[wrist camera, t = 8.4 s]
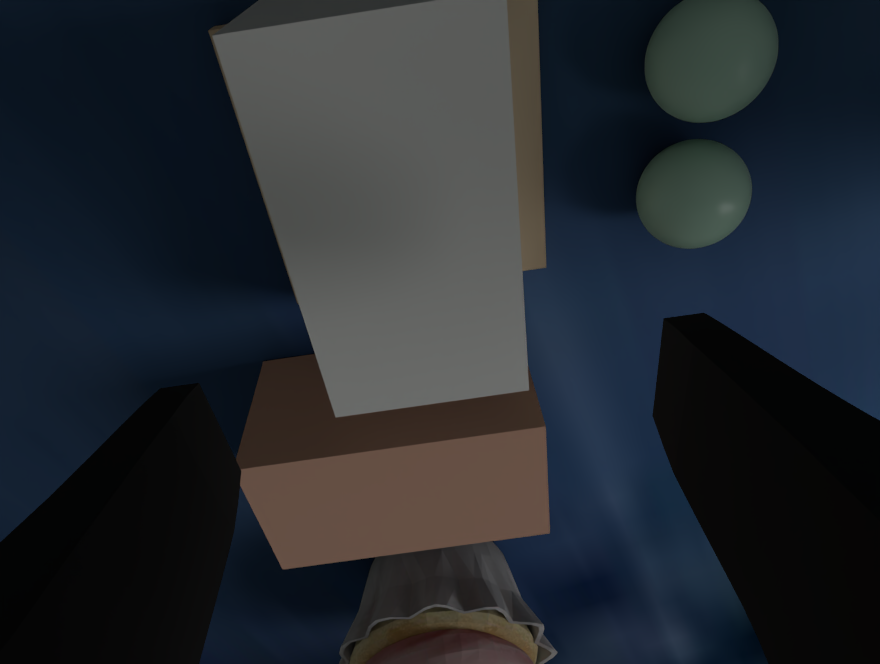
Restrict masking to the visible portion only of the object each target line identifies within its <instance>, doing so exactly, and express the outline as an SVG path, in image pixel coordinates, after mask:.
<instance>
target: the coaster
mask: <svg viewBox="0 0 880 664" xmlns="http://www.w3.org/2000/svg"><path fill="white" fill-rule="evenodd" d="M507 12H508V29H509V47H510V64H511V82H512V99H513V117H514V134H515V152H516V169H517V187H518V204H519V222H520V239H521V257H522V271H525V270H532V269H539V268H546V245H545V214H544V183H543V152H542V120H541V89H540V58H539V27H538V0H507ZM225 25H227V24H225ZM225 25H219V26H214V27H212V28H211V29H210V30H208V32H209V35H210V38H211V41H212V44H213V47H214V50H215V53H216V56H217V59H218V62H219V65H220V68H221V71H222V74H223V78H224V81H225V84H226V87H227V90H228V93H229V96H230V99H231V102H232V105H233V108H234V111H235V114H236V117H237V120H238V123H239V126H240V129H241V133H242V136H243V139H244V142H245V145H246V148H247V151H248V154H249V157H250V160H251V163H252V166H253V169H254V172H255V175H256V178H257V181H258V184H259V188H260V191H261V194H262V197H263V200H264V203H265V206H266V209H267V212H268V215H269V218H270V221H271V224H272V227H273V230H274V233H275V236H276V240H277V243H278V246H279V249H280V252H281V255H282V258H283V261H284V264H285V267H286V270H287V273H288V276H289V279H290V282H291V285H292V288H293V291H294V287H293V284H292V281H291V278H290V275H289V272H288V269H287V266H286V263H285V260H284V257H283V253H282V250H281V247H280V244H279V241H278V238H277V235H276V232H275V229H274V226H273V223H272V219H271V216H270V213H269V210H268V207H267V204H266V201H265V198H264V195H263V192H262V189H261V185H260V182H259V179H258V176H257V173H256V170H255V167H254V164H253V161H252V158H251V154H250V151H249V148H248V145H247V142H246V139H245V136H244V133H243V130H242V127H241V124H240V120H239V117H238V114H237V111H236V108H235V105H234V102H233V99H232V96H231V93H230V90H229V86H228V83H227V80H226V77H225V74H224V71H223V68H222V65H221V62H220V59H219V56H218V52H217V49H216V46H215V43H214V40H213V37H212V35H213V34H215V33H216V32H217V31H219V30H220V29H221V28H223V27H224V26H225ZM294 295H295V298H296V301H297V304H299V303H298V300H297V297H296V294H295V291H294Z"/></svg>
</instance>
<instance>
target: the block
mask: <svg viewBox="0 0 880 664" xmlns="http://www.w3.org/2000/svg"><path fill="white" fill-rule="evenodd" d="M212 37H213V40H214V43H215V46H216V49H217V52H218V56H219V59H220V62H221V65H222V68H223V71H224V74H225V77H226V80H227V83H228V86H229V90H230V93H231V96H232V99H233V102H234V105H235V108H236V111H237V114H238V117H239V120H240V124H241V127H242V130H243V133H244V136H245V139H246V142H247V145H248V148H249V151H250V154H251V158H252V161H253V164H254V167H255V170H256V173H257V176H258V179H259V182H260V185H261V189H262V192H263V195H264V198H265V201H266V204H267V207H268V210H269V213H270V216H271V219H272V223H273V226H274V229H275V232H276V235H277V238H278V241H279V244H280V247H281V250H282V253H283V257H284V260H285V263H286V266H287V269H288V272H289V275H290V278H291V281H292V284H293V287H294V291H295V294H296V297H297V300H298V303H299V306H300V309H301V312H302V315H303V318H304V321H305V325H306V328H307V331H308V334H309V337H310V340H311V343H312V346H313V349H314V352H315V355H316V359H317V362H318V365H319V368H320V371H321V374H322V377H323V380H324V383H325V386H326V390H327V393H328V396H329V399H330V402H331V405H332V408H333V411H334V414H335V417H343V416H350V415H357V414H365V413H372V412H379V411H386V410H393V409H400V408H407V407H414V406H421V405H428V404H436V403H443V402H450V401H457V400H464V399H471V398H478V397H485V396H492V395H499V394H507V393H514V392H521V391H528V390H529V379H528V362H527V344H526V327H525V309H524V292H523V274H522V257H521V239H520V222H519V204H518V187H517V169H516V152H515V134H514V117H513V99H512V82H511V64H510V47H509V29H508V12H507V0H258V1H257V2H256V3H254V4H253V5H252V6H250V7H249V8H248V9H246V10H245V11H244V12H243V13H241V14H240V15H239V16H237V17H236V18H235V19H233V20H232V21H231V22H229V23H228V24H227V25H225V26H224V27H223V28H221V29H220V30H219V31H217V32H216V33H215V34H213V35H212Z"/></svg>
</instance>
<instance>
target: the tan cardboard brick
mask: <svg viewBox="0 0 880 664" xmlns="http://www.w3.org/2000/svg"><path fill="white" fill-rule="evenodd" d="M528 379H529V390H528V391H521V392H514V393H507V394H499V395H492V396H485V397H478V398H471V399H464V400H457V401H450V402H443V403H436V404H428V405H421V406H414V407H407V408H400V409H393V410H386V411H379V412H372V413H365V414H357V415H350V416H343V417H335V414H334V411H333V408H332V405H331V402H330V399H329V396H328V393H327V390H326V386H325V383H324V380H323V377H322V374H321V371H320V368H319V365H318V362H317V359H316V355H315V354H311V355H304V356H297V357H290V358H283V359H276V360H270V361H263V364H262V368H261V371H260V375H259V379H258V382H257V386H256V389H255V393H254V396H253V400H252V404H251V407H250V411H249V414H248V418H247V421H246V425H245V429H244V432H243V436H242V439H241V443H240V447H239V450H238V454H237V457H236V461H237V463H238V465H239V467H240V469H241V480H240V486H241V488H242V490H243V492H244V494H245V496H246V498H247V500H248V502H249V504H250V506H251V508H252V510H253V512H254V514H255V516H256V518H257V520H258V522H259V524H260V526H261V528H262V529H263V531H264V533H265V535H266V537H267V539H268V541H269V543H270V545H271V547H272V549H273V551H274V553H275V555H276V557H277V559H278V561H279V563H280V565H281V567H282V569H291V568H298V567H305V566H313V565H320V564H328V563H335V562H342V561H350V560H357V559H364V558H372V557H379V556H386V555H394V554H401V553H408V552H416V551H423V550H431V549H438V548H445V547H453V546H460V545H467V544H475V543H482V542H489V541H497V540H504V539H511V538H519V537H526V536H534V535H541V534H548V533H550V523H549V498H548V473H547V447H546V426H545V422H544V419H543V416H542V412H541V409H540V405H539V402H538V398H537V395H536V391H535V388H534V384H533V381H532V378H531V374H530V371H529V367H528Z"/></svg>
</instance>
